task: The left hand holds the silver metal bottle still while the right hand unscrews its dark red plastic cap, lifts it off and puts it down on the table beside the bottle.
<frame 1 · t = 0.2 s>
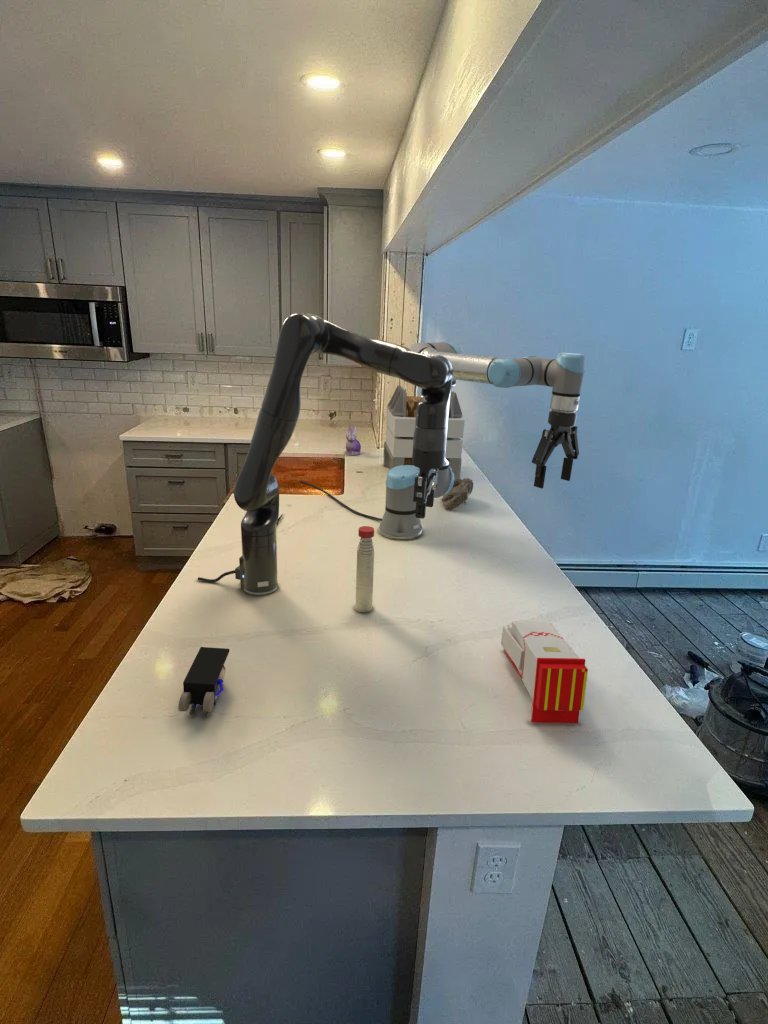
left hand: (424, 512, 136), 29 cm above the counter, tool pointing down, fingers open, 8 cm apart
right hand: (552, 483, 165), 29 cm above the counter, tool pointing down, fingers open, 13 cm apart
cap: (366, 530, 142), point 22 cm above the counter, screwed on, not yet turned
black wheeled cart: (207, 698, 113), on the counter
feather: (281, 517, 210), on the counter
white slatted crate: (419, 473, 275), on the counter
bottle: (363, 608, 150), on the counter
figurine: (352, 453, 305), on the counter
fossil: (455, 503, 235), on the counter
toy: (534, 680, 123), on the counter
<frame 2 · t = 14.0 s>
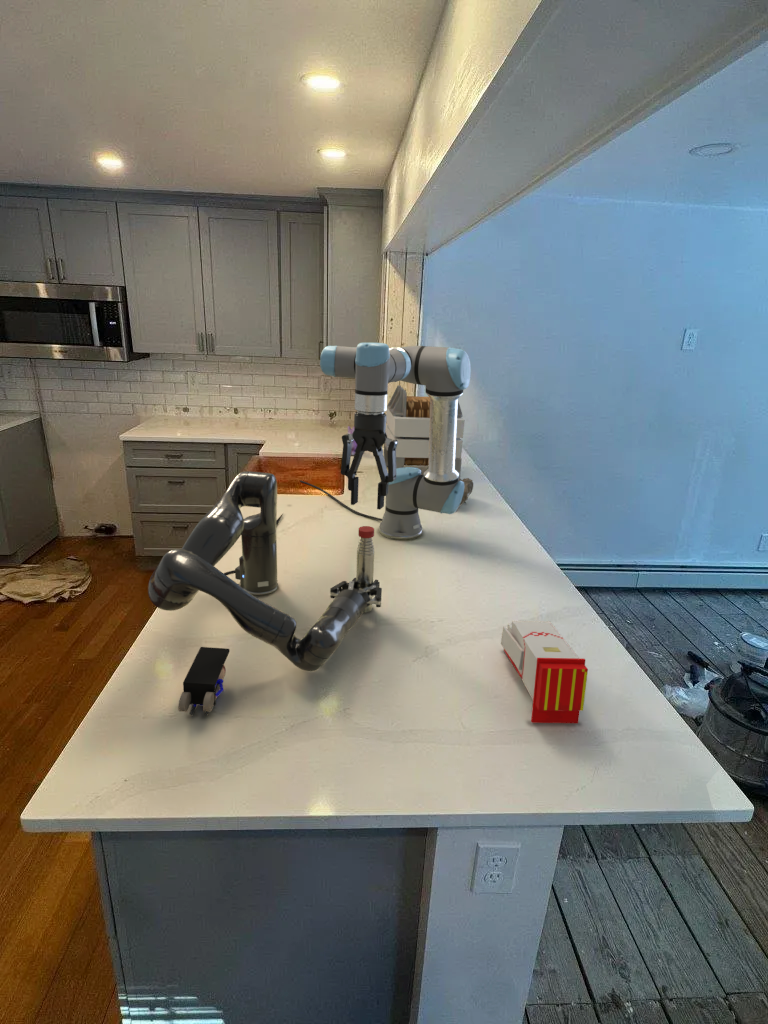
left hand: (368, 581, 150), 7 cm above the counter, tool horizontal, fingers closed on bottle, 4 cm apart
right hand: (367, 505, 140), 29 cm above the counter, tool pointing down, fingers open, 6 cm apart
bottle: (363, 608, 150), on the counter, touching left hand
everything else where it was.
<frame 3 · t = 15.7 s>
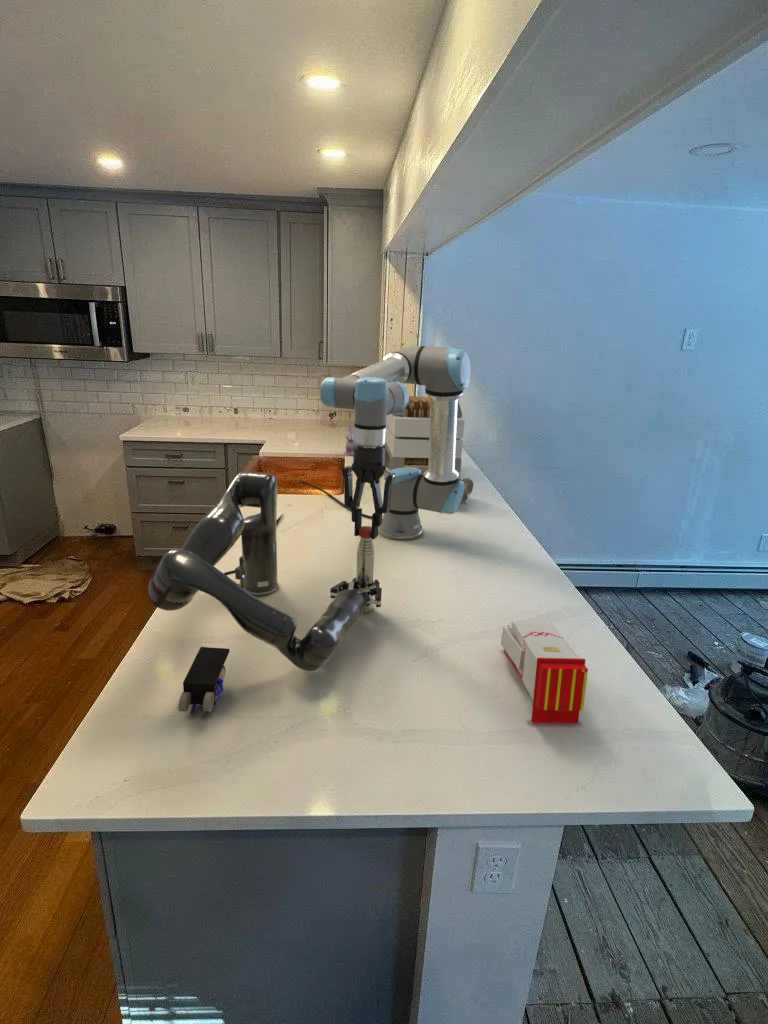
left hand: (368, 581, 150), 7 cm above the counter, tool horizontal, fingers closed on bottle, 4 cm apart
right hand: (366, 535, 142), 21 cm above the counter, tool pointing down, fingers closed on cap, 4 cm apart
cap: (366, 530, 142), point 22 cm above the counter, screwed on, not yet turned, touching right hand
bottle: (363, 608, 150), on the counter, touching left hand
everything else where it was.
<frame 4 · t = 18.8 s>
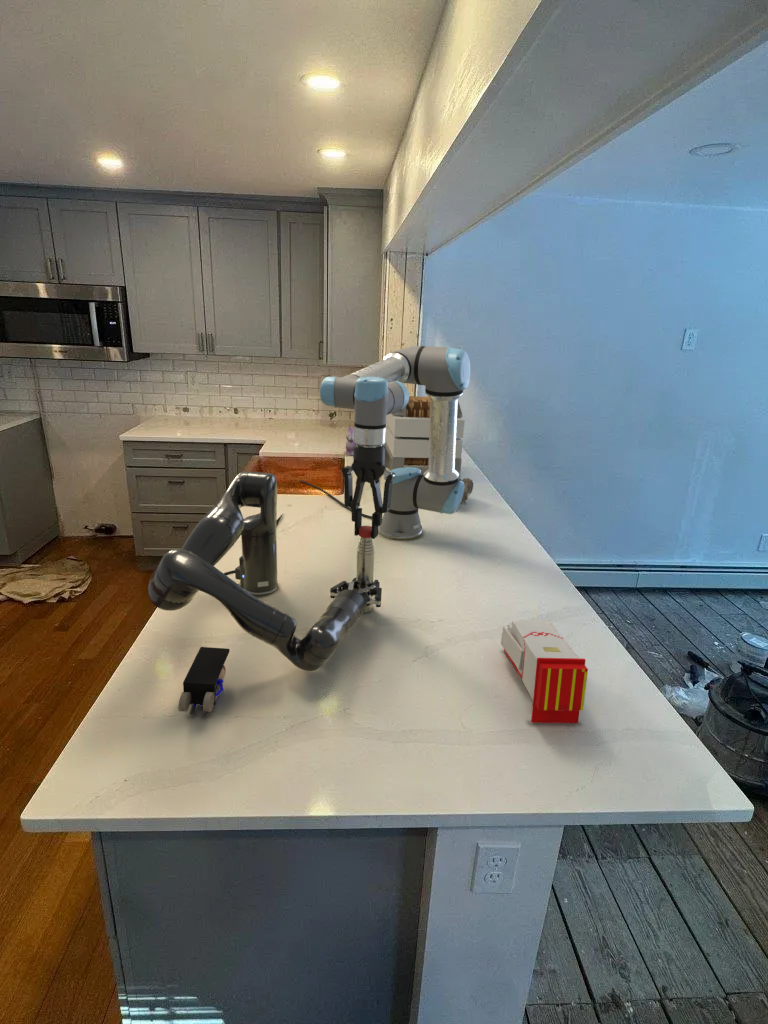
left hand: (368, 581, 150), 7 cm above the counter, tool horizontal, fingers closed on bottle, 4 cm apart
right hand: (366, 535, 142), 21 cm above the counter, tool pointing down, fingers closed on cap, 4 cm apart
cap: (366, 529, 142), point 22 cm above the counter, turned 90° so far, risen 0.1 cm, still on its thread, touching right hand
bottle: (363, 608, 150), on the counter, touching left hand
everything else where it was.
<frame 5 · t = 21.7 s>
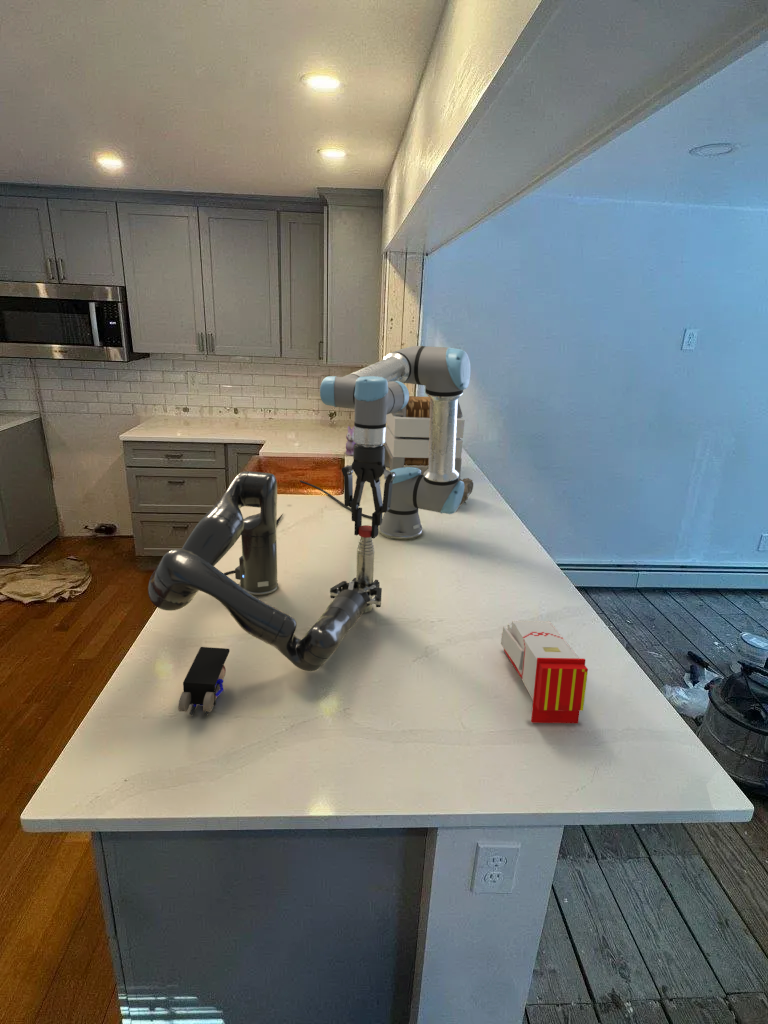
left hand: (368, 581, 150), 7 cm above the counter, tool horizontal, fingers closed on bottle, 4 cm apart
right hand: (366, 534, 142), 21 cm above the counter, tool pointing down, fingers closed on cap, 4 cm apart
cap: (366, 529, 142), point 22 cm above the counter, turned 181° so far, risen 0.2 cm, still on its thread, touching right hand
bottle: (363, 608, 150), on the counter, touching left hand
everything else where it was.
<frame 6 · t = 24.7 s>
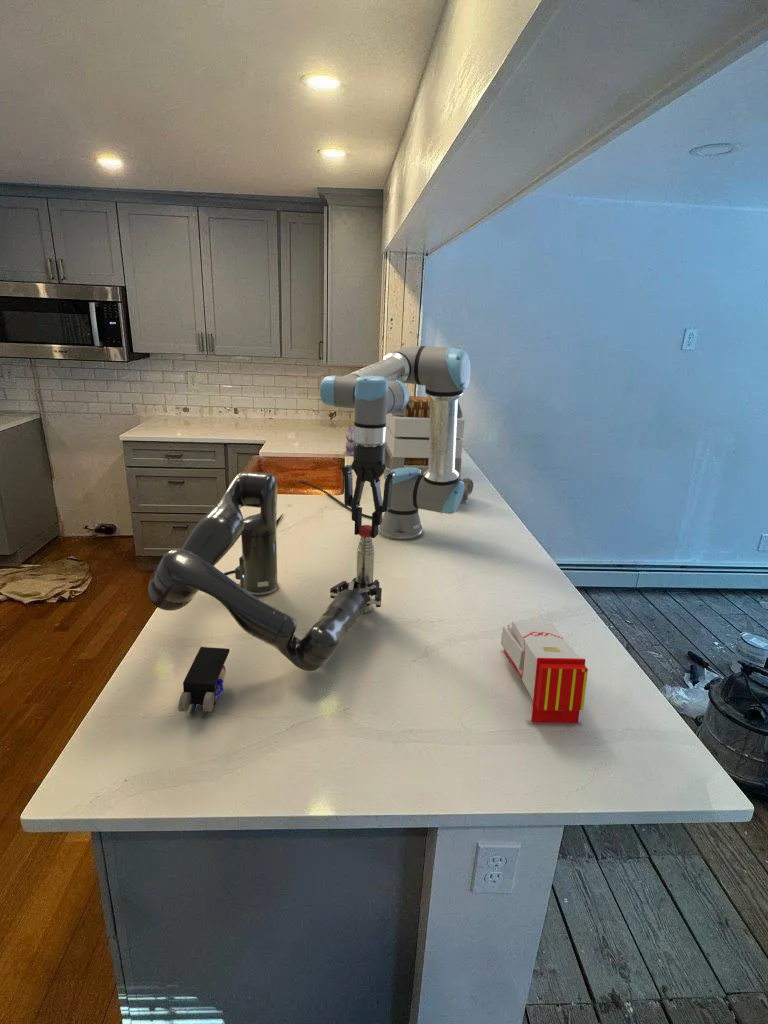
left hand: (368, 581, 150), 7 cm above the counter, tool horizontal, fingers closed on bottle, 4 cm apart
right hand: (366, 534, 142), 21 cm above the counter, tool pointing down, fingers closed on cap, 4 cm apart
cap: (366, 528, 142), point 23 cm above the counter, turned 271° so far, risen 0.3 cm, still on its thread, touching right hand
bottle: (363, 608, 150), on the counter, touching left hand
everything else where it was.
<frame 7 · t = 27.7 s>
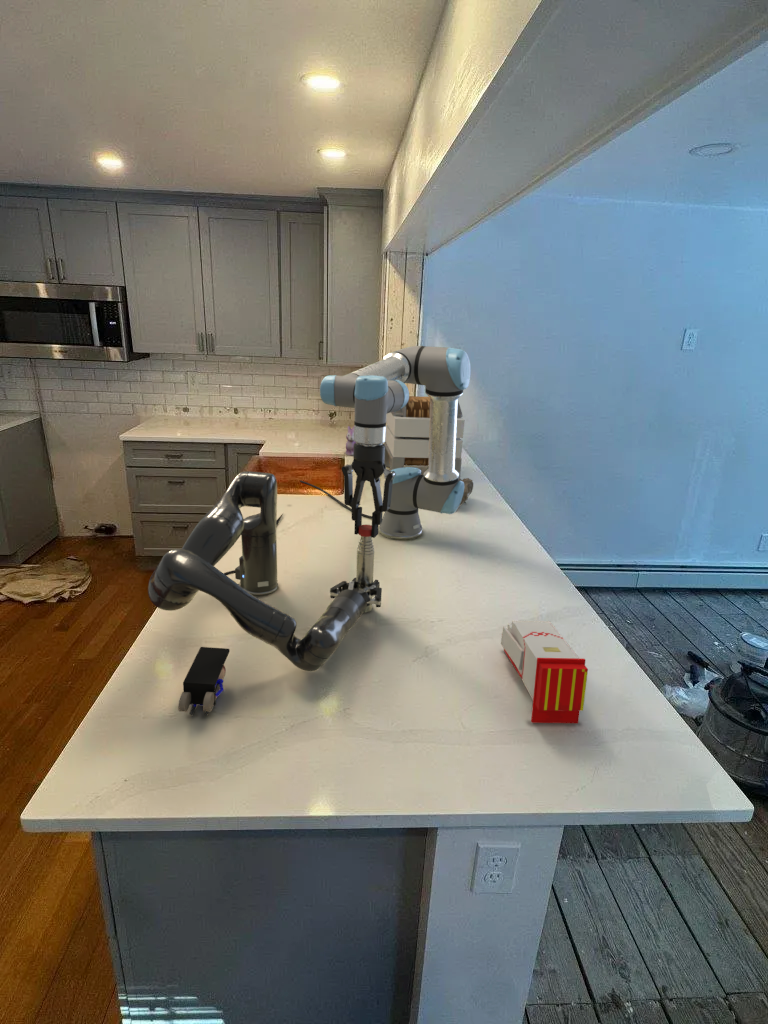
left hand: (368, 581, 150), 7 cm above the counter, tool horizontal, fingers closed on bottle, 4 cm apart
right hand: (366, 534, 142), 21 cm above the counter, tool pointing down, fingers closed on cap, 4 cm apart
cap: (366, 528, 142), point 23 cm above the counter, turned 362° so far, risen 0.4 cm, still on its thread, touching right hand
bottle: (363, 608, 150), on the counter, touching left hand
everything else where it was.
when the right hand's fingers open (1 cm above the counter, at t = 34.4 s): cap drops 1 cm, point 1 cm above the counter.
when the left hand's fingers open (7 cm above the counter, at t = 35.7 s): bottle stays where it is, on the counter.
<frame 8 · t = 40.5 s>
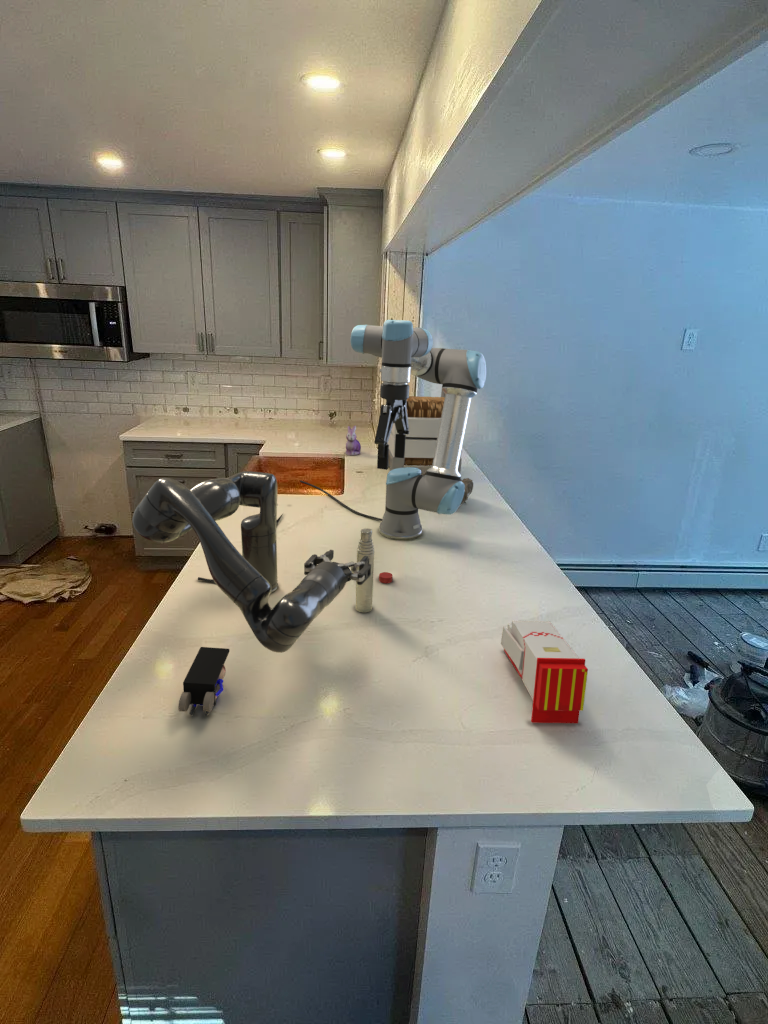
left hand: (349, 556, 132), 20 cm above the counter, tool horizontal, fingers open, 8 cm apart
right hand: (391, 463, 153), 35 cm above the counter, tool pointing down, fingers open, 13 cm apart
cap: (385, 576, 165), point 1 cm above the counter, off its thread
bottle: (363, 608, 150), on the counter
everything else where it was.
at the end: cap came off its thread; cap point 1.5 cm above the counter; the left hand is holding nothing; the right hand is holding nothing; bottle tilted 0°; bottle moved 0.0 cm from its start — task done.
